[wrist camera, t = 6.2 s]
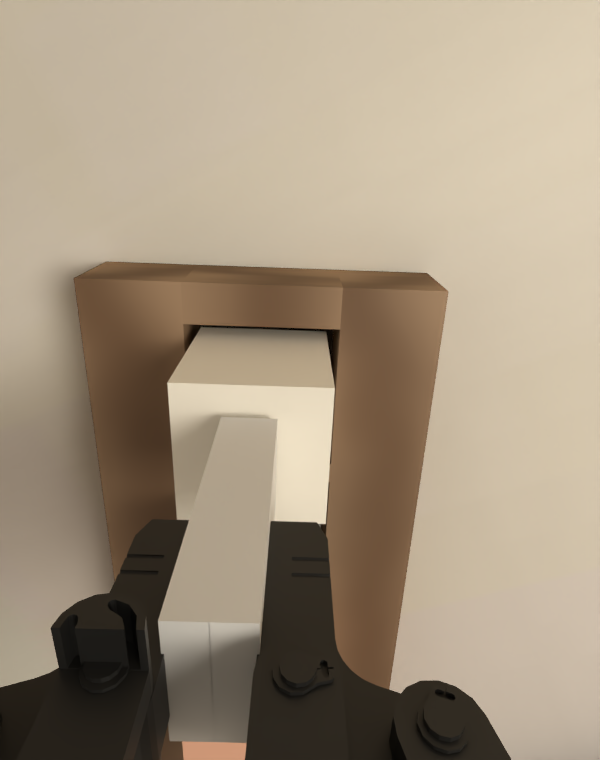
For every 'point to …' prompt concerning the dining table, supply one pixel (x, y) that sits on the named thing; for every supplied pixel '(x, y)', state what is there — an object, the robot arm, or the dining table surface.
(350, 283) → the wooden block tray
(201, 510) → the robot arm
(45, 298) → the dining table surface
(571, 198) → the dining table surface
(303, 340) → the key ivory
